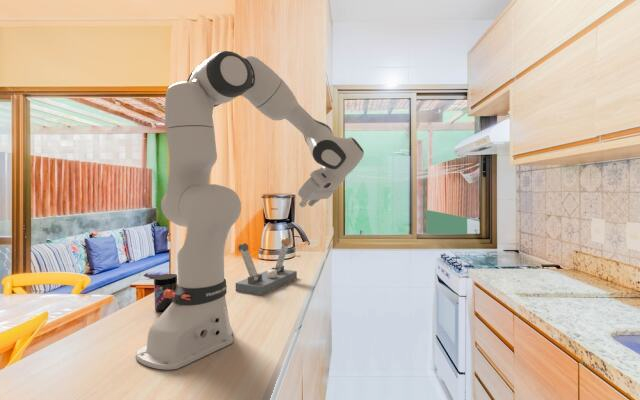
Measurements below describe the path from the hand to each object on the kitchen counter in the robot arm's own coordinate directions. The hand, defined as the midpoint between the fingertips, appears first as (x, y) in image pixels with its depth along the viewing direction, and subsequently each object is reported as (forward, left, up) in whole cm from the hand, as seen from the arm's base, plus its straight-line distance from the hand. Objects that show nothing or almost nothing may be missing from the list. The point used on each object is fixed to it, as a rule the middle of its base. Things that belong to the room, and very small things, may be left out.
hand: (305, 205), depth 118 cm
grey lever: (-9, +17, -27) cm, 34 cm away
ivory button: (-1, +15, -28) cm, 32 cm away
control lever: (+6, +17, -27) cm, 33 cm away
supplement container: (-36, +31, -32) cm, 57 cm away
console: (-1, +17, -31) cm, 36 cm away
